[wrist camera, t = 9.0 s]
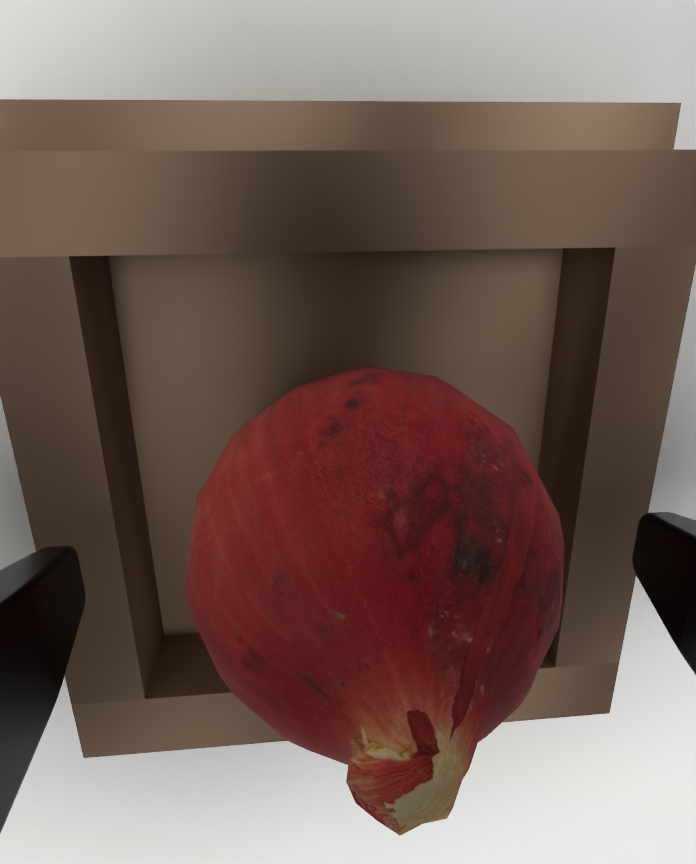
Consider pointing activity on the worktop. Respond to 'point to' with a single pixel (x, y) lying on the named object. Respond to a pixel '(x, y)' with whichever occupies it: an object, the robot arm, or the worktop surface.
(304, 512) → the onion
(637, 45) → the worktop surface
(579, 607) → the walnut holder
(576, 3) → the worktop surface
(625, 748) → the worktop surface
